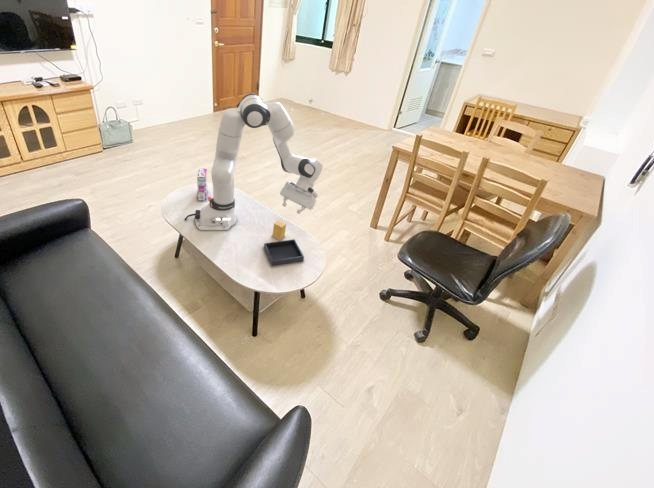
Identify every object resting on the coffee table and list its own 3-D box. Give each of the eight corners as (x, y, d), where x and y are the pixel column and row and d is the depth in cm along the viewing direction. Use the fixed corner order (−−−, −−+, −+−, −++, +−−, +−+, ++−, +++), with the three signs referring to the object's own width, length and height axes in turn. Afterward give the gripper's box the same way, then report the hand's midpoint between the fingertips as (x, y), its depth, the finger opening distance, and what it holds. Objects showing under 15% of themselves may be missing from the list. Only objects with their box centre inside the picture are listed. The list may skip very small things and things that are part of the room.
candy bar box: (206, 201, 200) (205, 177, 190) (197, 201, 199) (196, 177, 190) (207, 191, 209) (207, 168, 200) (199, 191, 208) (198, 168, 199)
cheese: (272, 236, 178) (274, 223, 173) (276, 233, 181) (278, 219, 176) (279, 240, 176) (281, 227, 171) (284, 237, 179) (286, 224, 173)
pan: (271, 266, 159) (272, 261, 157) (263, 248, 170) (264, 243, 168) (303, 261, 164) (304, 256, 162) (293, 244, 174) (294, 239, 173)
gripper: (285, 178, 180) (273, 200, 179) (317, 192, 170) (304, 216, 169) (289, 182, 185) (277, 203, 184) (320, 196, 176) (308, 219, 175)
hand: (290, 209), depth 177 cm, fingers open, 8 cm apart
